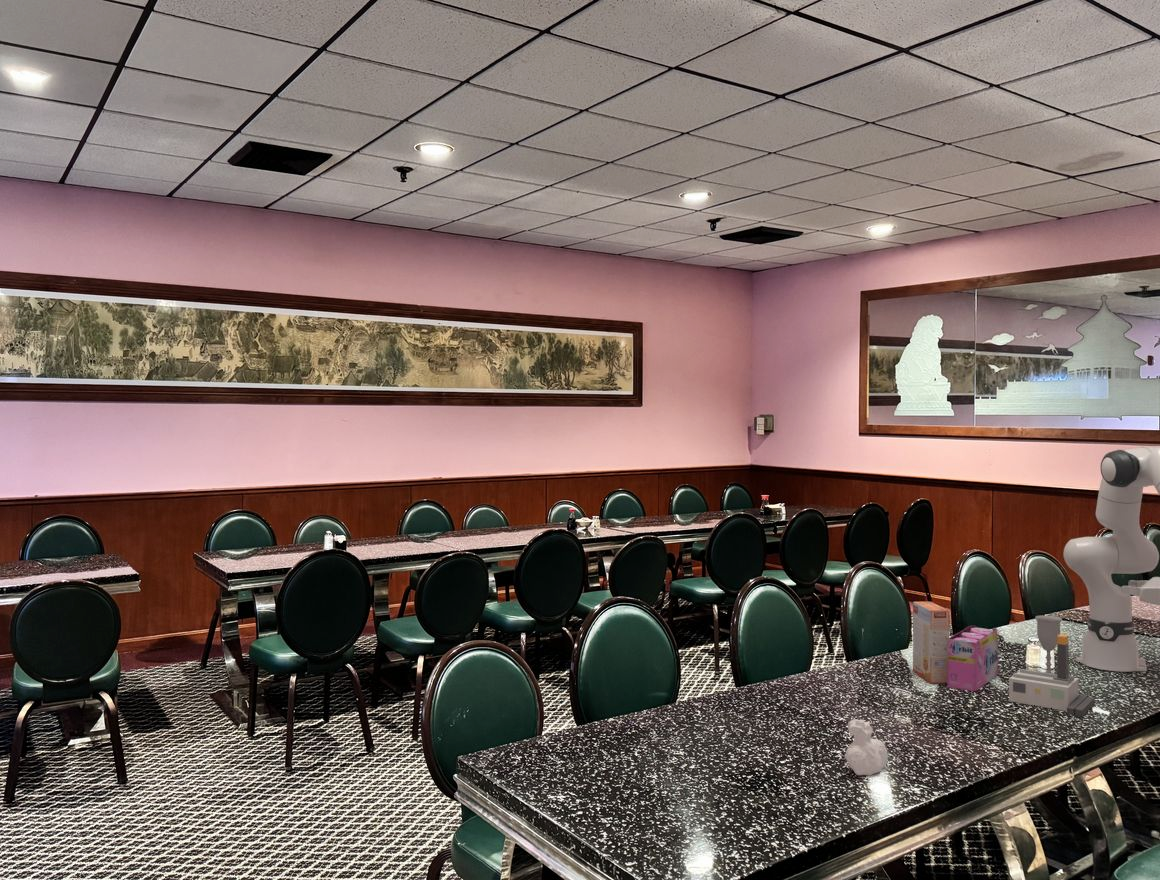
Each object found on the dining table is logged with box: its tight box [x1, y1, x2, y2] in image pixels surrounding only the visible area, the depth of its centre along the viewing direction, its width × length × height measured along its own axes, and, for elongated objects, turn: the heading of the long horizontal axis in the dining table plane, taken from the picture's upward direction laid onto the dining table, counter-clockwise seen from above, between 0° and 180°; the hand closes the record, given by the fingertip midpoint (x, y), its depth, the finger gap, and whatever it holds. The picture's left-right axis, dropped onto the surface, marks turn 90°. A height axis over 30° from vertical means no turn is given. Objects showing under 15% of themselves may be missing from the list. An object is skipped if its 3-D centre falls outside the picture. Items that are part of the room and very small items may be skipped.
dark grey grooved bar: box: [1066, 693, 1096, 718], centre depth 234 cm, size 16×3×2 cm, turn 140°
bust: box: [844, 718, 889, 777], centre depth 192 cm, size 12×8×11 cm
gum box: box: [946, 625, 999, 692], centre depth 261 cm, size 24×8×14 cm, turn 141°
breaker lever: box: [1053, 633, 1074, 683], centre depth 237 cm, size 4×4×12 cm
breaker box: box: [1008, 668, 1079, 712], centre depth 240 cm, size 11×14×7 cm
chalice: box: [1035, 615, 1063, 674], centre depth 259 cm, size 7×7×18 cm
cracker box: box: [912, 601, 951, 685], centre depth 264 cm, size 14×6×21 cm, turn 179°
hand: (1125, 586), depth 236 cm, fingers open, 8 cm apart
